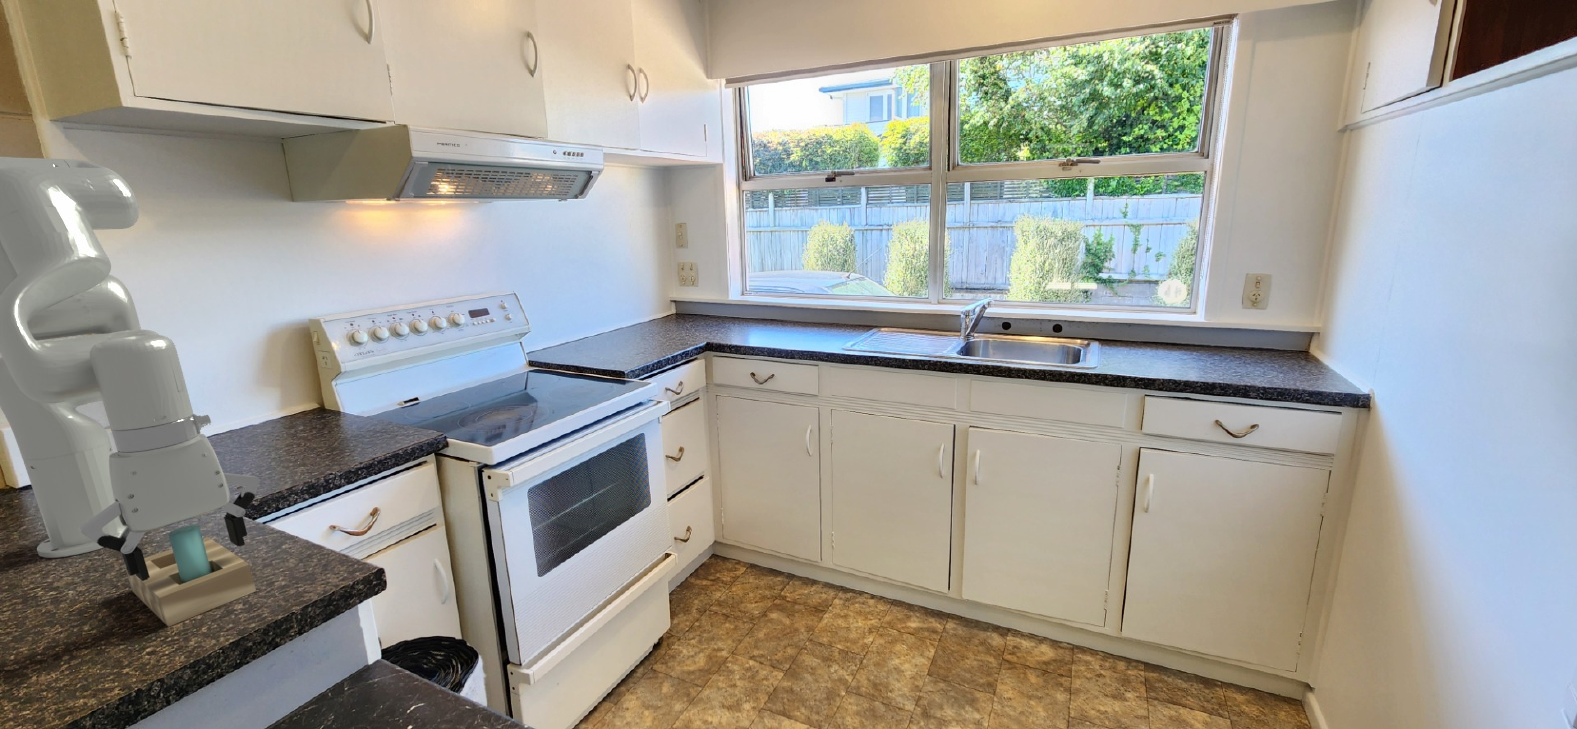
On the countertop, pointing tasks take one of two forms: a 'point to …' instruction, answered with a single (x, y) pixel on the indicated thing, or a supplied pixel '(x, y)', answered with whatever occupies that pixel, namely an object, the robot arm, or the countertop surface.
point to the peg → (189, 553)
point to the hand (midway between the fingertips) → (192, 559)
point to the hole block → (192, 584)
